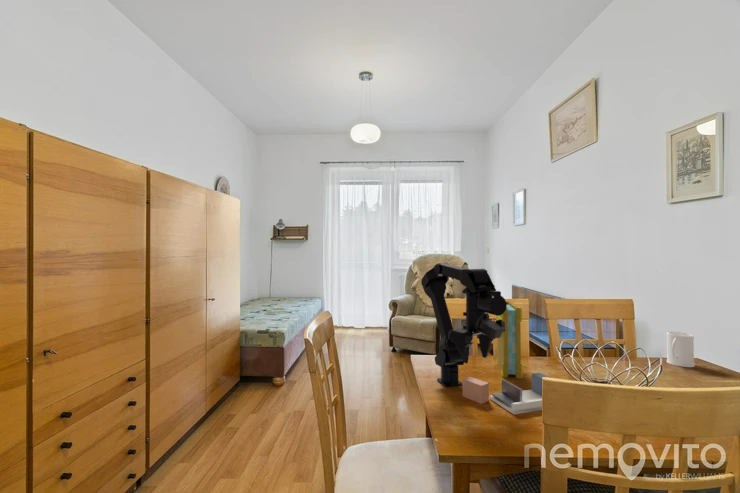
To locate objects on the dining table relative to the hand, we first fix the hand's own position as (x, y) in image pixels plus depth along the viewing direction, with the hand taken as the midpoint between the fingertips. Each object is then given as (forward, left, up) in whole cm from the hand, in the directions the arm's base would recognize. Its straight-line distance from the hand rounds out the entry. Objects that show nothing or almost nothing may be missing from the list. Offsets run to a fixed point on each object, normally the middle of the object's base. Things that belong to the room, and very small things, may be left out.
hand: (475, 360), depth 109 cm
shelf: (+7, +14, -12) cm, 19 cm away
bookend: (+6, +6, -10) cm, 14 cm away
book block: (0, 0, -12) cm, 12 cm away
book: (-19, +27, -12) cm, 35 cm away
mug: (-4, +96, -12) cm, 97 cm away
